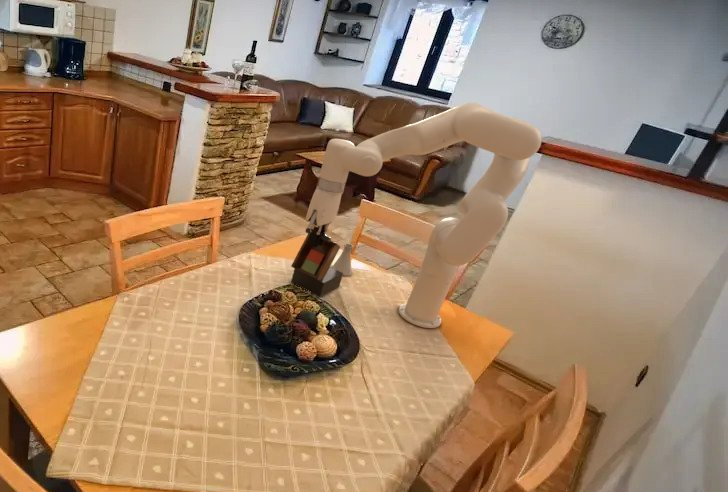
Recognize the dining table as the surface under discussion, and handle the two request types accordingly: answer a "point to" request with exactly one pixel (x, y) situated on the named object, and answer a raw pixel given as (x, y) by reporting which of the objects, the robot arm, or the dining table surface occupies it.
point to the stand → (316, 286)
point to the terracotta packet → (316, 257)
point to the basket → (326, 248)
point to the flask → (344, 261)
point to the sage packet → (310, 267)
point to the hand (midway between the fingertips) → (314, 244)
